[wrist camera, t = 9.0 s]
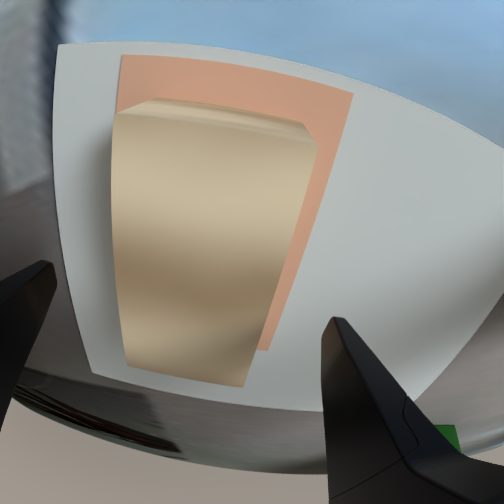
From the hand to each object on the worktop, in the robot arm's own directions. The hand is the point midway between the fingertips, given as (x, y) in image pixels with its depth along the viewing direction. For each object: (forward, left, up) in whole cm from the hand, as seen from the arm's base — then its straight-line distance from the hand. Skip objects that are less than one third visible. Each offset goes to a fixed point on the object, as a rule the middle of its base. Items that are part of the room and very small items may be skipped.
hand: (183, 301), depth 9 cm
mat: (-5, +3, -4) cm, 7 cm away
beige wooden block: (0, 0, -4) cm, 4 cm away
